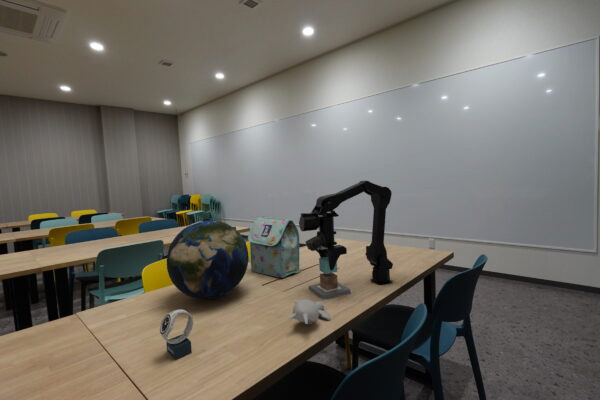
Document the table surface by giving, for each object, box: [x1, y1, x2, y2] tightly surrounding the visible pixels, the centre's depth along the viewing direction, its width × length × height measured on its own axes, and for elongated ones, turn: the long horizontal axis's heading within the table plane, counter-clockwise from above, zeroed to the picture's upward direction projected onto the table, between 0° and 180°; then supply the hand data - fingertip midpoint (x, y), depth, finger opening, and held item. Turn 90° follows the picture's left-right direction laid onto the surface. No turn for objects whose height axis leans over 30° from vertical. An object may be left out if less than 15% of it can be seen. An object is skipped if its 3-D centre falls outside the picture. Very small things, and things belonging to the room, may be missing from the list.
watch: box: [159, 308, 194, 361], centre depth 77 cm, size 6×8×11 cm
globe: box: [166, 219, 250, 301], centre depth 114 cm, size 30×30×30 cm
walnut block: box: [319, 272, 339, 290], centre depth 115 cm, size 5×5×5 cm
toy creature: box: [286, 299, 332, 326], centre depth 90 cm, size 13×7×20 cm
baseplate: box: [308, 282, 352, 300], centre depth 115 cm, size 12×12×2 cm
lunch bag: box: [247, 216, 301, 278], centre depth 142 cm, size 23×16×27 cm
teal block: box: [318, 257, 338, 274], centre depth 114 cm, size 5×5×5 cm
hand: (328, 268), depth 114 cm, fingers closed on teal block, 5 cm apart
